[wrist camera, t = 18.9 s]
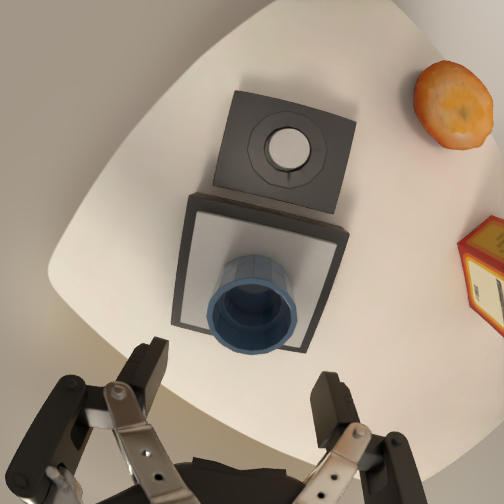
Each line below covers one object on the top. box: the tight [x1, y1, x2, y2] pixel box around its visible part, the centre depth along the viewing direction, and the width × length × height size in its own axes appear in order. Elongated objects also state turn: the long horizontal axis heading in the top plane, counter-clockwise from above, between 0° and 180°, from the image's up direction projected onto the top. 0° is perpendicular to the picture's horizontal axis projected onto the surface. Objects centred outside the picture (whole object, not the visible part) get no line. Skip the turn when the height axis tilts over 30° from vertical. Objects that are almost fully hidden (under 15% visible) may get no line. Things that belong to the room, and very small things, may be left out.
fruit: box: [414, 60, 493, 150], centre depth 16 cm, size 8×8×8 cm
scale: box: [171, 192, 350, 353], centre depth 24 cm, size 13×12×3 cm
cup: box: [206, 255, 298, 355], centre depth 20 cm, size 6×6×5 cm
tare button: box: [268, 128, 310, 168], centre depth 18 cm, size 3×3×2 cm
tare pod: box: [213, 90, 356, 214], centre depth 20 cm, size 10×8×3 cm
